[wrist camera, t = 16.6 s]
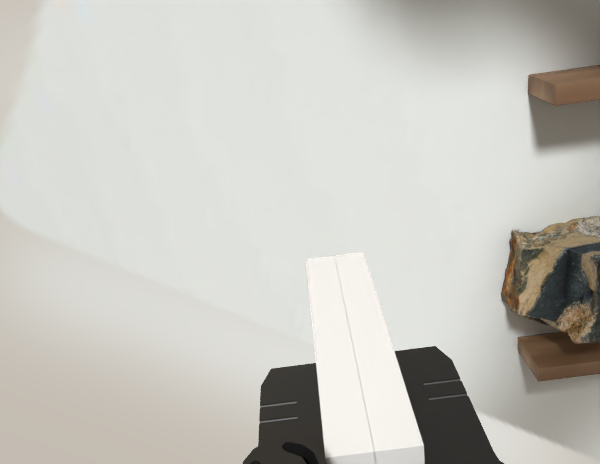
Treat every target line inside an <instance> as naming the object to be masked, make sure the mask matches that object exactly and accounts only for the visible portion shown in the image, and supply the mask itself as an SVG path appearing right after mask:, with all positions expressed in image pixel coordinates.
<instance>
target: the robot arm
mask: <svg viewBox="0 0 600 464" xmlns="http://www.w3.org/2000/svg"><path fill="white" fill-rule="evenodd" d="M306 266H307V276H308V287H309V297H310V307H311V317H312V327H313V338H314V348H315V357H316V363H313V364H305V365H297V366H290V367H282V368H274V369H271V370H270V372H269V373H268V375H267V377H266V379H265V380H264V382H263V384H262V385H261V397H260V400H261V401H260V424H259V444H258V447H257V448H255V449H253V450H252V452H251V453H250V454H249V455H248V457H247V458H246V459H245V460H244V461H243V464H504V463H502V462H501V461H499V459H498V458H497V456H496V455H495V453H494V451H493V449H492V447H491V445H490V443H489V440H488V438H487V436H486V434H485V432H484V429H483V427H482V425H481V423H480V421H479V419H478V416H477V414H476V412H475V410H474V408H473V405H472V403H471V401H470V399H469V397H468V396H467V392H466V390H465V388H464V386H463V383H462V381H460V377H459V375H458V372H457V370H456V368H455V366H454V364H453V361H452V360H451V359H450V358H449V357H448V356H446V355H445V354H444V353H443V352H442V351H440V350H439V349H438V348H437V347H436V346H433V347H425V348H417V349H409V350H401V351H394V348H393V345H392V342H391V339H390V335H389V332H388V329H387V326H386V323H385V319H384V316H383V313H382V310H381V307H380V303H379V300H378V297H377V294H376V291H375V287H374V284H373V281H372V278H371V275H370V271H369V268H368V265H367V262H366V259H365V255H364V252H357V253H349V254H342V255H334V256H327V257H319V258H311V259H306Z"/></svg>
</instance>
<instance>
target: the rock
mask: <svg viewBox="0 0 600 464" xmlns="http://www.w3.org/2000/svg"><path fill="white" fill-rule="evenodd" d="M512 233H513V237H511V239H510V243H511V251H510V256H509V262H508V266H507V269H506V274H505V280H504V284H503V288H502V293H501V294H502V300H504V301H505V302H507V303H509V304H510V306H511V310H512V311H514V312H516V314H517V315H520V316H524V317H528V318H529V319H531V320H534V321H537V322H539V323H541V324H544V325H550V326H552V327H554V328H556V329H558V330H560V331H562V332H567V333H568V335H569V336H570V338H571V340H572V341H573V342H574V343H577V344H579V343H594V342H598V341H600V217H589V218H579V219H573V220H570V221H568V222H566V223H557V224H552V225H550V226H548V227H547V228H545V229H544V230H543V231H542V232H537V233H527V232H524V233H522V232H519V229H518V230H512Z"/></svg>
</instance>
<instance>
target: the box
mask: <svg viewBox="0 0 600 464" xmlns="http://www.w3.org/2000/svg"><path fill="white" fill-rule="evenodd" d="M528 93H529V94H531V95H533V96H535V97H537V98H539V99H542V100H544V101H546V102H548V103H550V104H553V105H555V106H556V105H563V104H570V103H578V102H585V101H592V100H600V65H597V66H589V67H582V68H575V69H568V70H561V71H553V72H546V73H539V74H532V75H529V79H528ZM518 351H519V352H520V354H521V355H522V357H523V358H524V360H525V362H526V363H527V365H528V366H529V368H530V369H531V371H532V372H533V374H534V375H535V377H536V379H537V380H538V381H545V380H553V379H561V378H569V377H577V376H585V375H593V374H600V341H598V342H594V343H579V344H577V343H574V342H573V341H572V340H571V338H570V336H569V335H568V333H567V332H557V333H549V334H541V335H533V336H526V337H518Z"/></svg>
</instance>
